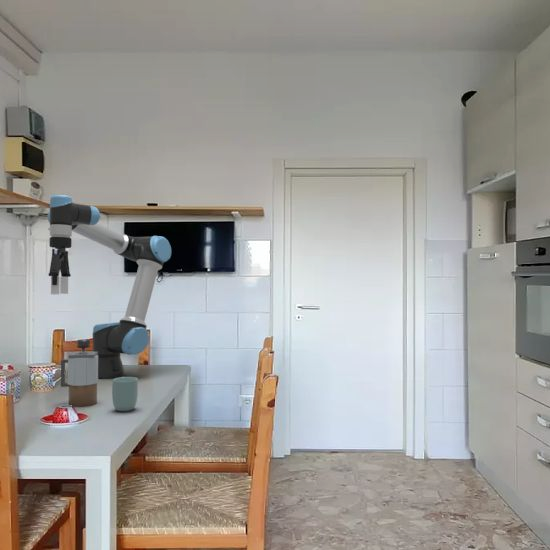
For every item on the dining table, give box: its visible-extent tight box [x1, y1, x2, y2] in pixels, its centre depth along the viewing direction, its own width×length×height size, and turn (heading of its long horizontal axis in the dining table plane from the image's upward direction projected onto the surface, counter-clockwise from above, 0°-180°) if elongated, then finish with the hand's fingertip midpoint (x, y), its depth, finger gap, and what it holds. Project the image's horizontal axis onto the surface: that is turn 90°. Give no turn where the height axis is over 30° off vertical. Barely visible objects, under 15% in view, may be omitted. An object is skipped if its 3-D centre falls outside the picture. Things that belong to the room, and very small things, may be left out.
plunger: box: [76, 338, 91, 354], centre depth 168 cm, size 7×7×14 cm
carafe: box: [60, 351, 99, 408], centre depth 168 cm, size 9×12×17 cm
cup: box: [111, 376, 139, 412], centre depth 160 cm, size 8×8×10 cm
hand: (59, 294), depth 184 cm, fingers open, 13 cm apart
